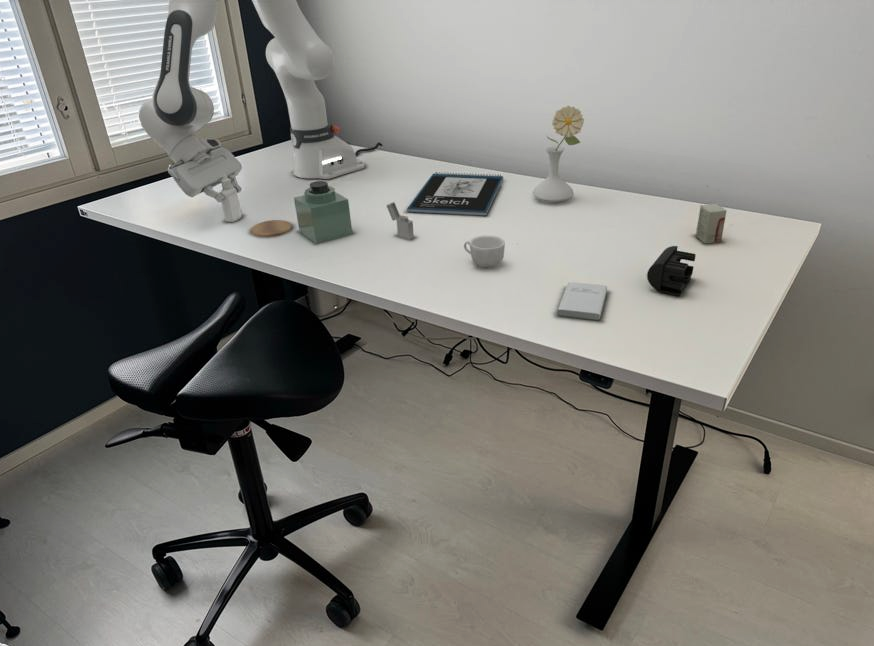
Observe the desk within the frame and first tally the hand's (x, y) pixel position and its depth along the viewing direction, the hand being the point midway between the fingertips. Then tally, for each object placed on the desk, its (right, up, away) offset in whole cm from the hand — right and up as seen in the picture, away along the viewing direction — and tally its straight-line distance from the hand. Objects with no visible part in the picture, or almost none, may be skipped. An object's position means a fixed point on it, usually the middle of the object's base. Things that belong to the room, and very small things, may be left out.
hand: (231, 195), depth 178 cm
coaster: (+12, -10, -4) cm, 16 cm away
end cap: (+105, -28, -36) cm, 114 cm away
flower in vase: (+87, +1, +10) cm, 87 cm away
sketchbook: (+60, +3, +14) cm, 62 cm away
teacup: (+66, -22, -24) cm, 73 cm away
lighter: (+46, -12, -9) cm, 48 cm away
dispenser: (+26, -11, -6) cm, 29 cm away
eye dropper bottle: (0, -5, +4) cm, 7 cm away
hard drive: (+85, -32, -42) cm, 100 cm away
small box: (+120, -15, -16) cm, 122 cm away
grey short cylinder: (+26, -2, -12) cm, 29 cm away
